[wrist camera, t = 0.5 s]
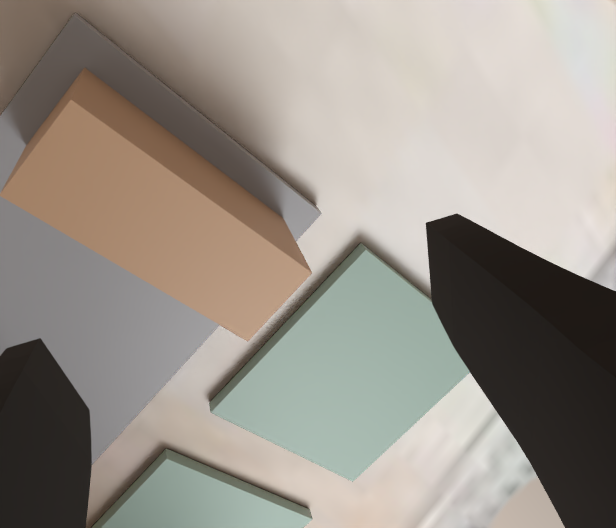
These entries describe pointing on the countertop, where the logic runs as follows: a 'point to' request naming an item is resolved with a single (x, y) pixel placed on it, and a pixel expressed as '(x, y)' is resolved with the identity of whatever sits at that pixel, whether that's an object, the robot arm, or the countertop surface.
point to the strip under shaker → (132, 227)
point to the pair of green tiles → (312, 400)
